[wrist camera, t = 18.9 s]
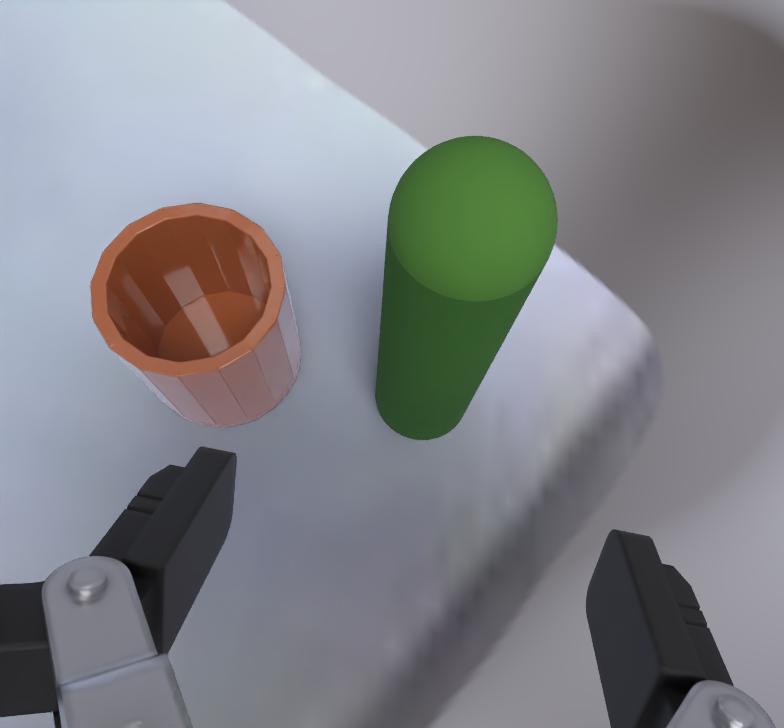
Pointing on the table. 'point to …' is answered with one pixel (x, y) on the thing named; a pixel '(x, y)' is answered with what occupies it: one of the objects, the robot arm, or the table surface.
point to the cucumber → (456, 276)
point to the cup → (200, 312)
